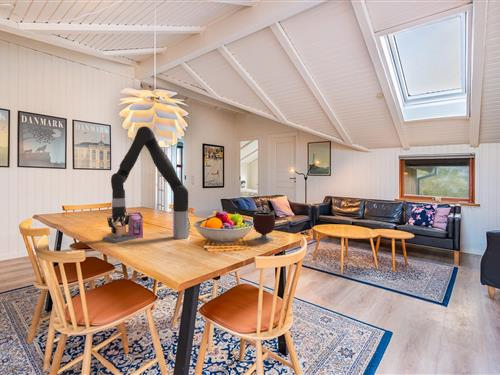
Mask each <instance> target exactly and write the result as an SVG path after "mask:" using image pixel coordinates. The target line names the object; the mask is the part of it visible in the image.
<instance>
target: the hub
mask: <svg viewBox="0 0 500 375" xmlns="http://www.w3.org/2000/svg"><path fill="white" fill-rule="evenodd" d="M110 229H111V231H110V233H111V234H112V235H114V234H113V233H112V227H110ZM121 234H125V235H127V225H126V226H122V225H121V224H117V225H116V234H115V235H121Z"/></svg>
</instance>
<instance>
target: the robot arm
mask: <svg viewBox="0 0 500 375" xmlns="http://www.w3.org/2000/svg"><path fill="white" fill-rule="evenodd" d="M144 146H145V147H146V149H147V150H148V152H149V154H150V156H151V160H152V161H153V164H154V165H155V166H154V167H156V169H157V171H158V172H159V173H160V175H161V176H162V178H163V179H165V181H166V182H167V184H168V185H169V187H170V189H171V191H172V194H173V195H172V198H173V199H172V211H173V212H172V213H173V215H172V217H173V219H172V220H173V222H172V224H173V225H172V229H173V230H172V237H173V239H176V240H177V239H179V240H182V239H186V238H189V237H190V222H189V191H188V189H187V187H186V186H185V185H184V183H182V181H181V179H180V178H179V177H178V176H179V175H177V174H178V173H177V172H176V169H175V167H174V165H173V164H172V161H171V160H170V159H169V157H168V155H167V154H166V152H165V151H164V150H163V149H162V147H161V146H160V145H159V142H158V140H157V138H156V137H155V133H154V131H153V130H152V129H151V128H150V127H148V126H141V127H139V128H138V129H137V130H136V133H135V136H134V139H133V141H132V143H131V146H130V147H129V149H128V151H127V152H126V154H125V156H123V159H122V160H121V162H120V164H119V169H118V170H117V172H115V173H113V174H112V175H111V178H110V185H111V190H112V191H111V192H112V196H111V197H112V198H111V214H112V215H111V216H110V217H107V218H106V220H107V224H108V227H109V228H111V227H112V233H113V234H112V235H116V225H119V224H118V223H120V225H121V226H126V227H127V226H128V222H129V217H130V216H129V215H128V214H126V192H125V191H126V190H125V188H124V184H125V182H126V181H127V179H128V177H129V175H130V173H131V171H132V169H133V168H134V165H135V164H136V163H137V160H138V159H139V156H140V153H141V152H142V149H143V148H144Z"/></svg>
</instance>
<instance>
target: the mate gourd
mask: <svg viewBox="0 0 500 375" xmlns="http://www.w3.org/2000/svg"><path fill="white" fill-rule="evenodd" d="M275 212H277V209H275V210H272V211H257V212H254V214H253V219H252V221H253V224H252V225H253V229H254V230H255V233H258V234H260V235H261V236H257V237H254V238H253V240H254V241H255V240H256V241H255V242H257V241H259V242H258V243H271V242H270V241H272V242H273V241H274V238H273V237H271V236H269V237H268V236H267V235H268V234H271V233H272V232H273V231H274V229H275V226H276V216H275Z"/></svg>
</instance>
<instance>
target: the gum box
mask: <svg viewBox="0 0 500 375" xmlns="http://www.w3.org/2000/svg"><path fill="white" fill-rule="evenodd" d="M127 215H129V216H130V217H129V222H128V225H127V228H128V229H127V232H128V235H130V236H135V239H140V238H141V239H143V238H144V218H143V215H142V213H141V212H128V213H127Z"/></svg>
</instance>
